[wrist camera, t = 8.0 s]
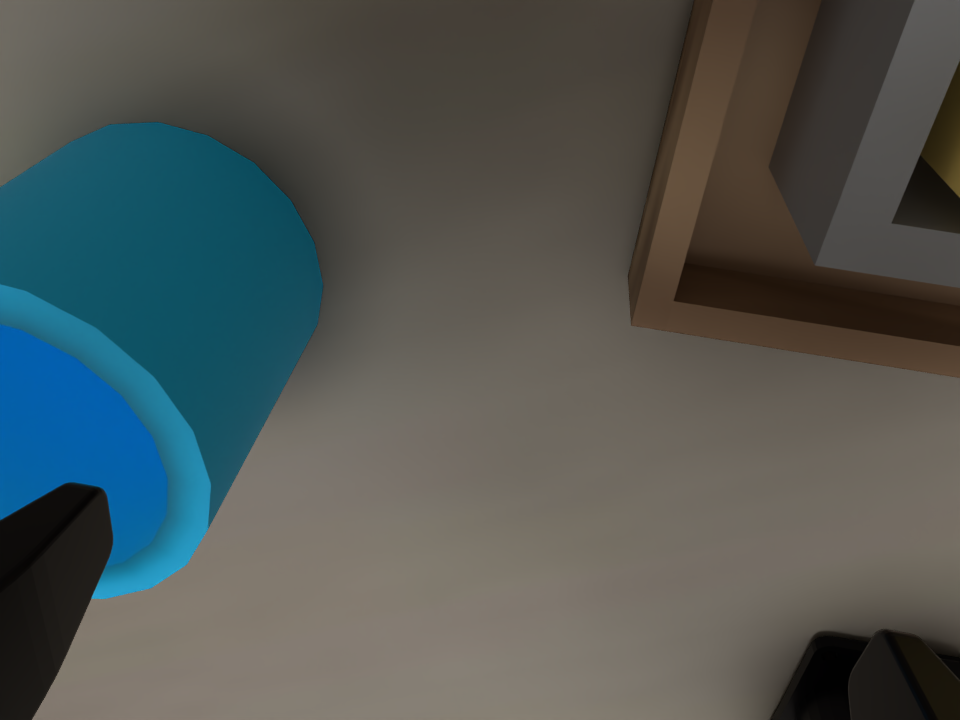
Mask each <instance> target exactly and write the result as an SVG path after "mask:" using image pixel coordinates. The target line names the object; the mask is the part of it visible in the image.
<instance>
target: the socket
mask: <svg viewBox="0 0 960 720" xmlns="http://www.w3.org/2000/svg"><path fill="white" fill-rule="evenodd" d="M959 61H960V0H822V1H821V4H820V7H819V11H818V14H817V17H816V20H815V23H814V26H813V29H812V33H811V36H810V39H809V42H808V45H807V48H806V51H805V54H804V58H803V61H802V64H801V67H800V70H799V73H798V76H797V80H796V83H795V86H794V89H793V92H792V95H791V98H790V101H789V105H788V108H787V111H786V114H785V117H784V120H783V123H782V127H781V130H780V133H779V136H778V139H777V142H776V145H775V148H774V152H773V155H772V158H771V161H770V164H769V169H770V172H771V174H772V176H773V178H774V180H775V182H776V184H777V186H778V189H779V191H780V193H781V195H782V197H783V199H784V201H785V203H786V205H787V208H788V210H789V212H790V214H791V216H792V218H793V220H794V222H795V225H796V227H797V229H798V231H799V233H800V235H801V237H802V239H803V242H804V244H805V246H806V248H807V250H808V252H809V254H810V256H811V258H812V261H813V263H814V265H815V266H822V267H828V268H835V269H841V270H848V271H854V272H860V273H867V274H873V275H880V276H886V277H893V278H899V279H905V280H912V281H918V282H925V283H931V284H938V285H944V286H951V287H957V288H960V198H959V196H958V195H957V194H956V193H955V192H954V191H953V190H952V189H951V188H950V187H949V186H948V185H947V183H946V182H945V181H944V180H943V179H942V178H941V177H940V176H939V175H938V174H937V173H936V171H935V170H934V169H933V168H932V167H931V166H930V165H929V164H928V163H927V162H926V161H925V160H924V158H923V157H922V156H921V155H920V154H921V152H922V149H923V147H924V144H925V142H926V140H927V137H928V135H929V132H930V130H931V128H932V125H933V123H934V121H935V118H936V116H937V113H938V111H939V109H940V106H941V104H942V102H943V99H944V97H945V94H946V92H947V90H948V87H949V85H950V82H951V80H952V78H953V75H954V73H955V71H956V68H957V66H958V63H959Z"/></svg>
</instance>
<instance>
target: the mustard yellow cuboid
mask: <svg viewBox="0 0 960 720" xmlns="http://www.w3.org/2000/svg"><path fill="white" fill-rule="evenodd" d="M920 155H921V156H922V157H923V158H924V160H925V161H926V162H927V163H928V164H929V165H930V166H931V167H932V168H933V169H934V170H935V171H936V173H937V174H938V175H939V176H940V177H941V178H942V179H943V180H944V181H945V182H946V183H947V185H948V186H949V187H950V188H951V189H952V190H953V191H954V192H955V193H956V194H957V195H958V196H959V198H960V61H959V63H958V66H957V68H956V71H955V73H954V75H953V78H952V80H951V82H950V85H949V87H948V90H947V92H946V94H945V97H944V99H943V102H942V104H941V106H940V109H939V111H938V113H937V116H936V118H935V121H934V123H933V125H932V128H931V130H930V132H929V135H928V137H927V140H926V142H925V144H924V147H923V149H922V152H921V154H920Z"/></svg>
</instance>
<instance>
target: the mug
mask: <svg viewBox="0 0 960 720" xmlns="http://www.w3.org/2000/svg"><path fill="white" fill-rule="evenodd" d="M322 291H323V282H322V277H321V272H320V268H319V263H318V258H317V253H316V248H315V243H314V241H313V239H312V238H311V236H310V234H309V232H308V230H307V229H306V227H305V225H304V223H303V221H302V220H301V218H300V216H299V214H298V212H297V211H296V209H295V207H294V205H293V203H292V202H291V200H290V199H289V198H288V197H287V196H286V195H285V194H284V193H283V192H282V191H281V190H280V189H279V188H278V187H277V186H276V185H275V184H274V183H273V182H272V181H271V180H270V179H269V178H268V177H267V176H266V175H265V173H264V172H263V171H262V170H261V169H260V168H259V167H258V166H257V165H256V164H255V163H253V162H252V161H250V160H248V159H247V158H245V157H243V156H242V155H240V154H238V153H237V152H235V151H233V150H232V149H230V148H228V147H226V146H225V145H223V144H221V143H220V142H218V141H216V140H215V139H213V138H211V137H210V136H208V135H204V134H200V133H197V132H193V131H189V130H185V129H182V128H178V127H174V126H170V125H167V124H163V123H159V122H149V123H129V124H110V125H108V126H105V127H103V128H101V129H99V130H96V131H94V132H92V133H90V134H87V135H85V136H83V137H81V138H78V139H76V140H74V141H72V142H70V143H68V144H67V145H65V146H64V147H62V148H60V149H59V150H57V151H56V152H54V153H53V154H51V155H50V156H48V157H46V158H45V159H43V160H42V161H40V162H39V163H37V164H36V165H34V166H33V167H31V168H29V169H28V170H26V171H25V172H23V173H22V174H20V175H19V176H17V177H15V178H14V179H12V180H11V181H9V182H8V183H6V184H5V185H3V186H1V187H0V520H1V519H3V518H5V517H6V516H8V515H10V514H12V513H13V512H15V511H17V510H19V509H20V508H22V507H24V506H26V505H27V504H29V503H31V502H32V501H34V500H36V499H38V498H39V497H41V496H43V495H45V494H46V493H48V492H50V491H52V490H53V489H55V488H57V487H59V486H61V485H63V484H65V483H68V482H76V483H82V484H87V485H93V486H98V487H100V488H103V489H104V491H105V492H106V494H107V498H108V504H109V511H110V517H111V524H112V530H113V546H112V551H111V554H110V557H109V560H108V562H107V564H106V566H105V569H104V571H103V573H102V575H101V578H100V580H99V582H98V584H97V587H96V589H95V591H94V594H93V596H92V598H91V599H107V598H111V597H115V596H119V595H124V594H128V593H132V592H137V591H141V590H145V589H150V588H152V587H153V586H155V585H157V584H158V583H160V582H161V581H163V580H164V579H166V578H167V577H169V576H170V575H172V574H173V573H175V572H176V571H178V570H179V569H181V568H182V567H184V566H185V565H187V563H188V562H189V560H190V558H191V557H192V555H193V553H194V552H195V550H196V548H197V547H198V545H199V543H200V542H201V540H202V538H203V537H204V535H205V533H206V532H207V530H208V528H209V526H210V524H211V523H212V521H213V519H214V517H215V515H216V513H217V511H218V509H219V508H220V506H221V504H222V502H223V500H224V498H225V496H226V495H227V493H228V491H229V489H230V487H231V485H232V483H233V481H234V480H235V478H236V476H237V474H238V472H239V470H240V468H241V466H242V465H243V463H244V461H245V459H246V457H247V455H248V453H249V452H250V450H251V448H252V446H253V444H254V442H255V440H256V438H257V437H258V435H259V433H260V431H261V429H262V427H263V425H264V423H265V422H266V420H267V418H268V416H269V414H270V412H271V410H272V409H273V407H274V405H275V403H276V401H277V399H278V397H279V395H280V394H281V392H282V390H283V388H284V386H285V384H286V382H287V381H288V379H289V377H290V375H291V373H292V371H293V369H294V367H295V366H296V364H297V362H298V360H299V358H300V356H301V354H302V352H303V351H304V349H305V347H306V345H307V343H308V341H309V339H310V338H311V336H312V334H313V332H314V330H315V328H316V326H317V324H318V318H319V311H320V304H321V298H322Z"/></svg>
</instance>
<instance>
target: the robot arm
mask: <svg viewBox="0 0 960 720" xmlns="http://www.w3.org/2000/svg"><path fill="white" fill-rule="evenodd" d="M112 546H113V530H112V524H111V517H110V511H109V504H108V498H107V494H106V492H105V491H104V489H103V488H100V487H98V486H93V485H87V484H82V483H76V482H68V483H65V484H63V485H61V486H59V487H57V488H55V489H53V490H52V491H50V492H48V493H46V494H45V495H43V496H41V497H39V498H38V499H36V500H34V501H32V502H31V503H29V504H27V505H26V506H24V507H22V508H20V509H19V510H17V511H15V512H13V513H12V514H10V515H8V516H6V517H5V518H3V519H1V520H0V720H32V719H33V717H34V715H35V713H36V712H37V710H38V708H39V706H40V705H41V703H42V701H43V700H44V698H45V696H46V694H47V692H48V691H49V689H50V687H51V685H52V683H53V681H54V680H55V678H56V676H57V674H58V672H59V670H60V668H61V665H62V663H63V661H64V659H65V657H66V655H67V653H68V650H69V648H70V646H71V643H72V641H73V639H74V637H75V634H76V632H77V630H78V628H79V625H80V623H81V621H82V619H83V616H84V614H85V612H86V609H87V607H88V605H89V603H90V600H91V598H92V596H93V594H94V591H95V589H96V587H97V584H98V582H99V580H100V578H101V575H102V573H103V571H104V569H105V566H106V564H107V562H108V560H109V557H110V554H111V551H112ZM772 720H960V658H957V657H951V656H945V655H939V654H935V653H934V652H933V651H932V650H931V648H930V647H929V646H928V645H927V644H926V643H925V642H924V641H923V640H922V639H921V638H919V637H918V636H916V635H914V634H910V633H905V632H899V631H893V630H888V629H881V630H879V631H878V632H876V633H875V634H874V635H873V637H872V638H871V640H870V642H869V643H868V642H862V641H856V640H850V639H844V638H839V637H833V636H823V637H819V638H817V639H815V640H814V641H813V642H812V643H811V645H810V647H809V649H808V651H807V653H806V655H805V657H804V659H803V661H802V662H801V664H800V666H799V668H798V670H797V672H796V674H795V676H794V678H793V680H792V682H791V684H790V686H789V687H788V689H787V691H786V693H785V695H784V697H783V699H782V701H781V703H780V705H779V707H778V709H777V711H776V713H775V714H774V716H773V718H772Z"/></svg>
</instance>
